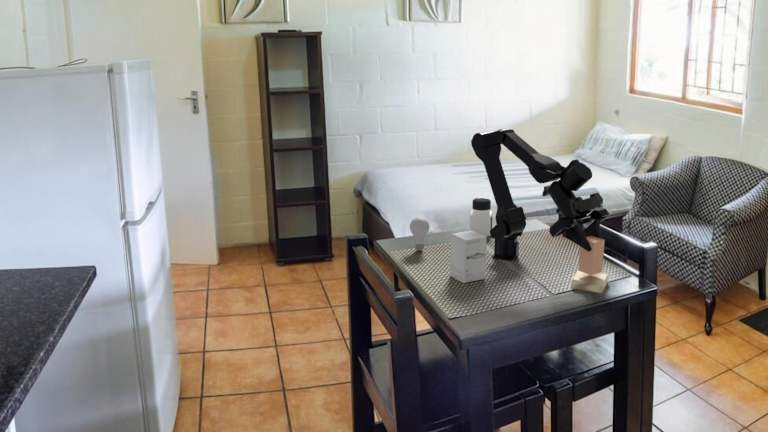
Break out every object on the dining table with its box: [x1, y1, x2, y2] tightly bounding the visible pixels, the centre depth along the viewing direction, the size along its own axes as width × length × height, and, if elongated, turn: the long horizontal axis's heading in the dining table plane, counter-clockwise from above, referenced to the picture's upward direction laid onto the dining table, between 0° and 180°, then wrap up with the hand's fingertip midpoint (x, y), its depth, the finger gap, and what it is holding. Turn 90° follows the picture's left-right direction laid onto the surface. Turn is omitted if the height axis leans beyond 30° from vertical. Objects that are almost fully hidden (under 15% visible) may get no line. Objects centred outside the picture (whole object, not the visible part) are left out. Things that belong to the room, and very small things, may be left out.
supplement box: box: [449, 230, 487, 284], centre depth 197 cm, size 7×7×13 cm
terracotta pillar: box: [577, 236, 606, 275], centre depth 189 cm, size 4×4×9 cm
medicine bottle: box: [469, 197, 493, 237], centre depth 238 cm, size 7×7×12 cm
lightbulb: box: [409, 216, 430, 252], centre depth 220 cm, size 6×6×11 cm
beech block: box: [571, 270, 609, 294], centre depth 191 cm, size 8×8×3 cm
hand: (596, 249), depth 187 cm, fingers closed on terracotta pillar, 4 cm apart
